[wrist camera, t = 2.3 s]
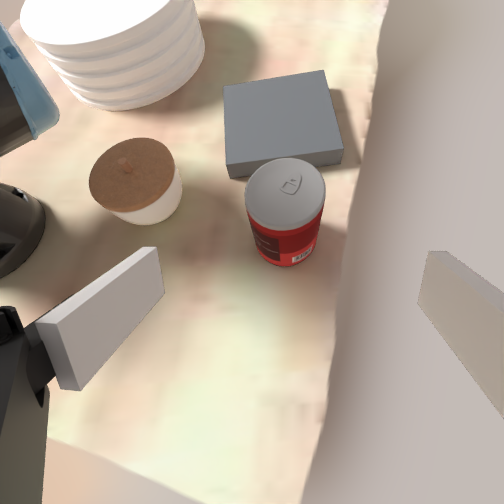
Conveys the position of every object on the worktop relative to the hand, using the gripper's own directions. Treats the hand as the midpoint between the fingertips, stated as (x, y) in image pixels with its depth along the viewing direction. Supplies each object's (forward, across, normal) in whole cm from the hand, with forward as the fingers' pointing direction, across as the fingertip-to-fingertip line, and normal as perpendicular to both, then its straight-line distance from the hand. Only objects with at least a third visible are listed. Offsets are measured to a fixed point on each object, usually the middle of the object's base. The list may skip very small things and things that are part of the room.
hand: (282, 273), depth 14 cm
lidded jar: (+26, -20, -2) cm, 32 cm away
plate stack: (+50, -31, +22) cm, 63 cm away
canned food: (+22, -1, -6) cm, 23 cm away
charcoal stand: (+35, -2, +8) cm, 36 cm away
